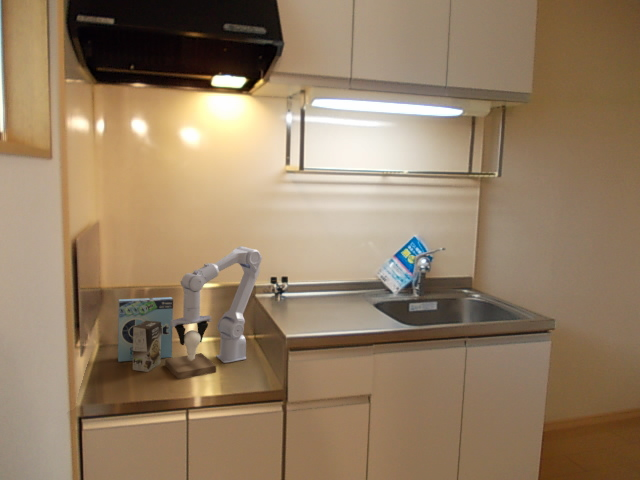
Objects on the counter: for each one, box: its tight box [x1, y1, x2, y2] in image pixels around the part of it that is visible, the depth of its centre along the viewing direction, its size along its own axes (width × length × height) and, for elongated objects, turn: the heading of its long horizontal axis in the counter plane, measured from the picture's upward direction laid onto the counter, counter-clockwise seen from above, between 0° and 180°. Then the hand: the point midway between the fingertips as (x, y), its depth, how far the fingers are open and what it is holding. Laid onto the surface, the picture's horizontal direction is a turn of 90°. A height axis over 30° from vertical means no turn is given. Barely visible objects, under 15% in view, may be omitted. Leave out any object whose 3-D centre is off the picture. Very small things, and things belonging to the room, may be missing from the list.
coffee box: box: [132, 321, 162, 373], centre depth 184 cm, size 9×6×16 cm
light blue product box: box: [117, 296, 174, 363], centre depth 192 cm, size 20×5×23 cm, turn 113°
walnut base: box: [164, 352, 217, 380], centre depth 185 cm, size 14×14×2 cm
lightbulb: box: [184, 330, 201, 361], centre depth 183 cm, size 6×6×11 cm
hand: (190, 342), depth 184 cm, fingers closed on lightbulb, 6 cm apart
